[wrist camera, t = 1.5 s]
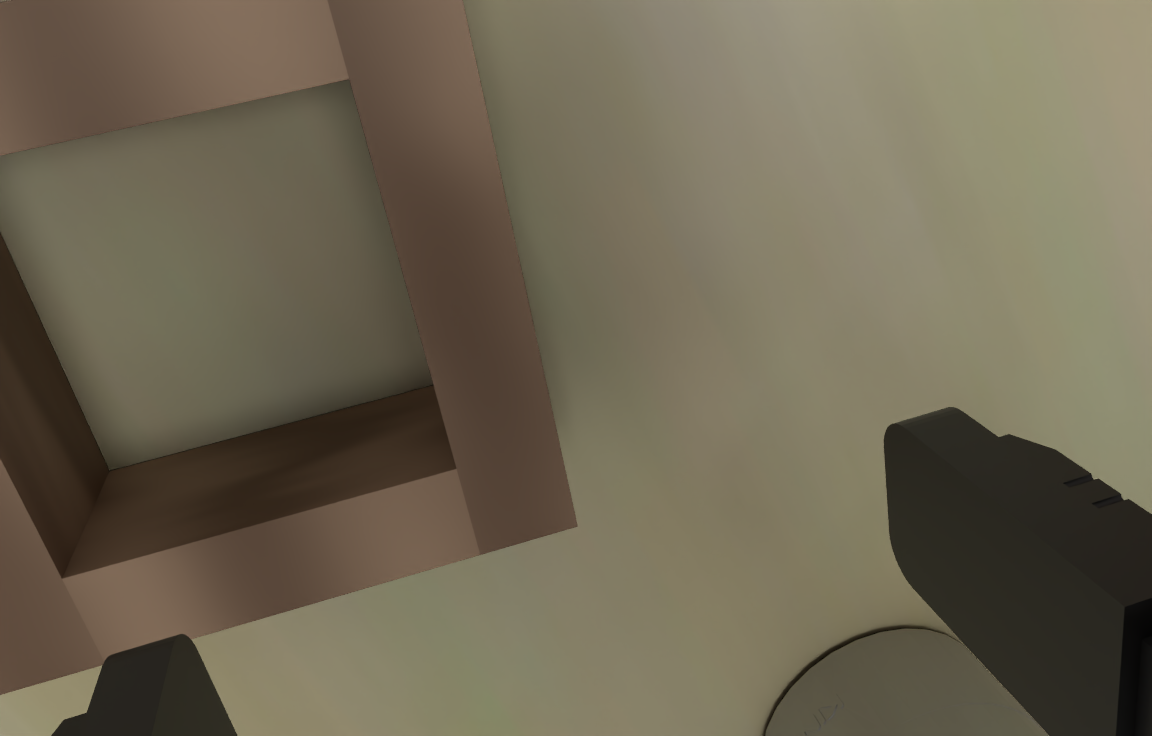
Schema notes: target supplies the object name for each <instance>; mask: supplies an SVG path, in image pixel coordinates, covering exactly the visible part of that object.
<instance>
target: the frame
mask: <svg viewBox="0 0 1152 736" xmlns="http://www.w3.org/2000/svg"><path fill="white" fill-rule="evenodd" d="M348 79H349V80H350V84H351V87H352V91H353V95H354V98H355V102H356V106H357V109H358V113H359V116H360V120H361V124H362V127H363V131H364V135H365V138H366V142H367V146H368V149H369V153H370V156H371V160H372V164H373V167H374V171H375V175H376V178H377V182H378V185H379V189H380V193H381V196H382V200H383V204H384V207H385V211H386V214H387V218H388V222H389V225H390V229H391V233H392V236H393V240H394V244H395V247H396V251H397V254H398V258H399V262H400V265H401V269H402V273H403V276H404V280H405V283H406V287H407V291H408V294H409V298H410V302H411V305H412V309H413V313H414V316H415V320H416V323H417V327H418V331H419V334H420V338H421V342H422V345H423V349H424V352H425V356H426V360H427V363H428V367H429V371H430V374H431V378H432V381H433V386H429V387H425V388H421V389H417V390H414V391H410V392H406V393H402V394H399V395H395V396H391V397H387V398H384V399H380V400H376V401H372V402H369V403H365V404H361V405H357V406H353V407H350V408H346V409H342V410H338V411H335V412H331V413H327V414H323V415H320V416H316V417H312V418H308V419H304V420H301V421H297V422H293V423H289V424H286V425H282V426H278V427H274V428H271V429H267V430H263V431H259V432H256V433H252V434H248V435H244V436H240V437H237V438H233V439H229V440H225V441H222V442H218V443H214V444H210V445H207V446H203V447H199V448H195V449H192V450H188V451H184V452H180V453H176V454H173V455H169V456H165V457H161V458H158V459H154V460H150V461H146V462H143V463H139V464H135V465H131V466H127V467H124V468H120V469H116V470H112V471H109V470H108V467H107V465H106V463H105V461H104V459H103V456H102V454H101V452H100V450H99V448H98V446H97V443H96V441H95V439H94V437H93V435H92V432H91V430H90V428H89V426H88V424H87V422H86V419H85V417H84V415H83V413H82V411H81V408H80V406H79V404H78V402H77V400H76V398H75V395H74V393H73V391H72V389H71V387H70V384H69V382H68V380H67V378H66V376H65V373H64V371H63V369H62V367H61V365H60V363H59V360H58V358H57V356H56V354H55V352H54V349H53V347H52V345H51V343H50V341H49V339H48V336H47V334H46V332H45V330H44V328H43V325H42V323H41V321H40V319H39V317H38V315H37V312H36V310H35V308H34V306H33V304H32V301H31V299H30V297H29V295H28V293H27V291H26V288H25V286H24V284H23V282H22V280H21V277H20V275H19V273H18V271H17V269H16V267H15V264H14V262H13V260H12V258H11V256H10V253H9V251H8V249H7V247H6V245H5V243H4V240H3V238H2V236H1V234H0V695H1V694H5V693H8V692H12V691H15V690H19V689H22V688H25V687H29V686H32V685H36V684H39V683H43V682H46V681H49V680H53V679H56V678H60V677H63V676H67V675H70V674H73V673H77V672H80V671H84V670H87V669H91V668H94V667H97V666H101V665H103V664H104V661H105V660H106V658H107V657H108V656H110V655H112V654H115V653H118V652H122V651H125V650H128V649H132V648H135V647H138V646H142V645H145V644H149V643H152V642H155V641H159V640H162V639H165V638H169V637H172V636H175V635H179V634H185V635H187V636H188V637H189V638H190V639H193V638H197V637H200V636H204V635H207V634H211V633H214V632H217V631H221V630H224V629H228V628H231V627H235V626H238V625H241V624H245V623H248V622H252V621H255V620H259V619H262V618H265V617H269V616H272V615H276V614H279V613H283V612H286V611H289V610H293V609H296V608H300V607H303V606H307V605H310V604H313V603H317V602H320V601H324V600H327V599H331V598H334V597H337V596H341V595H344V594H348V593H351V592H354V591H358V590H361V589H365V588H368V587H372V586H375V585H378V584H382V583H385V582H389V581H392V580H396V579H399V578H402V577H406V576H409V575H413V574H416V573H420V572H423V571H426V570H430V569H433V568H437V567H440V566H444V565H447V564H450V563H454V562H457V561H461V560H464V559H468V558H471V557H474V556H478V555H481V554H485V553H488V552H492V551H495V550H498V549H502V548H505V547H509V546H512V545H516V544H519V543H522V542H526V541H529V540H533V539H536V538H540V537H543V536H546V535H550V534H553V533H557V532H560V531H564V530H567V529H570V528H574V527H577V521H576V517H575V512H574V508H573V503H572V498H571V494H570V489H569V485H568V480H567V475H566V471H565V466H564V462H563V457H562V453H561V448H560V443H559V439H558V434H557V430H556V425H555V421H554V416H553V411H552V407H551V402H550V398H549V393H548V389H547V384H546V379H545V375H544V370H543V366H542V361H541V357H540V352H539V347H538V343H537V338H536V334H535V329H534V325H533V320H532V315H531V311H530V306H529V302H528V297H527V292H526V288H525V283H524V279H523V274H522V270H521V265H520V260H519V256H518V251H517V247H516V242H515V238H514V233H513V228H512V224H511V219H510V215H509V210H508V206H507V201H506V196H505V192H504V187H503V183H502V178H501V174H500V169H499V164H498V160H497V155H496V151H495V146H494V142H493V137H492V132H491V128H490V123H489V119H488V114H487V109H486V105H485V100H484V96H483V91H482V87H481V82H480V77H479V73H478V68H477V64H476V59H475V55H474V50H473V45H472V41H471V36H470V32H469V27H468V23H467V18H466V13H465V9H464V4H463V0H11V1H6V2H1V3H0V156H1V155H5V154H10V153H14V152H19V151H24V150H28V149H33V148H37V147H42V146H46V145H51V144H56V143H60V142H65V141H69V140H74V139H78V138H83V137H87V136H92V135H97V134H101V133H106V132H110V131H115V130H119V129H124V128H129V127H133V126H138V125H142V124H147V123H151V122H156V121H161V120H165V119H170V118H174V117H179V116H183V115H188V114H192V113H197V112H202V111H206V110H211V109H215V108H220V107H224V106H229V105H234V104H238V103H243V102H247V101H252V100H256V99H261V98H266V97H270V96H275V95H279V94H284V93H288V92H293V91H297V90H302V89H307V88H311V87H316V86H320V85H325V84H329V83H334V82H339V81H343V80H348Z"/></svg>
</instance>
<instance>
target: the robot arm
mask: <svg viewBox="0 0 1152 736" xmlns="http://www.w3.org/2000/svg"><path fill="white" fill-rule="evenodd" d="M884 454H885V470H886V487H887V503H888V519H889V534H890V540H891V545H892V549H893V552H894V555H895V558H896V560H897V563H898V565H899V567H900V569H901V571H902V573H903V575H904V577H905V578H906V580H907V581H908V583H909V584H910V585H911V586H912V588H913V589H914V590H915V591H916V592H917V593H918V594H919V595H920V596H921V597H922V599H923V600H924V601H925V602H926V603H927V604H928V605H929V606H930V607H931V608H932V609H933V610H934V612H935V613H936V614H937V615H938V616H939V617H940V618H941V619H942V620H943V621H944V622H945V623H946V624H947V626H948V627H949V628H950V629H951V630H952V631H953V632H954V633H955V634H956V635H957V636H958V637H959V639H960V640H961V641H962V642H963V643H964V644H965V645H966V646H967V647H968V648H969V649H970V650H971V652H972V653H973V654H974V655H975V656H976V657H977V658H978V659H979V660H980V661H981V662H982V663H983V664H984V666H985V667H986V668H987V669H988V670H989V671H990V672H991V673H992V674H993V675H994V676H995V677H996V679H997V680H998V681H999V682H1000V683H1001V684H1002V685H1003V686H1004V687H1005V688H1006V689H1007V690H1008V691H1007V690H1006V689H1005V688H1004V687H1003V686H1002V685H1000V684H999V683H998V681H997V680H996V679H995V678H994V677H993V676H992V675H991V674H990V673H989V672H988V671H987V670H986V669H985V668H984V667H983V665H982V664H981V663H980V662H979V661H978V660H977V659H976V658H975V657H974V656H973V655H972V654H971V653H970V651H969V650H968V649H967V648H966V647H965V646H964V645H963V644H961V643H960V642H958V641H956V640H954V639H953V638H951V637H949V636H948V635H945V634H941V633H938V632H934V631H931V630H925V629H898V630H892V631H885V632H879V633H876V634H873V635H870V636H867V637H864V638H861V639H858V640H855V641H854V642H852V643H850V644H848V645H846V646H844V647H842V648H840V649H838V650H836V651H834V652H832V653H831V654H829V655H828V656H827V657H825V658H824V659H823V660H821V661H820V662H818V663H817V664H816V665H814V666H813V667H812V668H810V669H809V670H808V671H807V672H806V673H805V674H804V675H803V676H802V677H801V678H800V679H799V680H798V681H797V682H796V683H795V684H794V685H793V686H792V687H791V688H790V690H789V691H788V692H787V694H786V695H785V697H784V698H783V699H782V701H781V702H780V704H779V705H778V706H777V708H776V710H775V712H774V714H773V716H772V719H771V721H770V723H769V725H768V727H767V730H766V734H765V736H1152V514H1150V513H1149V512H1147V511H1146V510H1144V509H1143V508H1141V507H1140V506H1138V505H1137V504H1135V503H1134V502H1132V501H1131V500H1129V499H1127V500H1123V499H1122V497H1121V494H1120V493H1119V492H1118V491H1116V490H1115V489H1113V488H1112V487H1110V486H1109V485H1107V484H1106V483H1104V482H1103V481H1101V480H1100V479H1096V480H1094V479H1093V478H1092V475H1091V473H1089V472H1088V471H1086V470H1085V469H1083V468H1082V467H1080V466H1079V465H1077V464H1076V463H1075V462H1073V461H1072V460H1070V459H1069V458H1067V457H1066V456H1064V455H1063V454H1061V453H1060V452H1058V451H1057V450H1055V449H1052V448H1049V447H1046V446H1043V445H1040V444H1037V443H1034V442H1031V441H1028V440H1025V439H1022V438H1019V437H1016V436H1013V435H1010V434H1008V435H1005V436H1002V437H998V436H996V435H995V434H993V433H992V432H991V431H989V430H988V429H986V428H985V427H984V426H982V425H981V424H979V423H978V422H977V421H975V420H974V419H972V418H971V417H970V416H968V415H967V414H965V413H964V412H963V411H961V410H959V409H957V408H954V407H948V408H944V409H941V410H938V411H934V412H931V413H928V414H924V415H921V416H918V417H914V418H911V419H907V420H904V421H901V422H897V423H894V424H891V425H890V426H889V427H888V428H887V430H886V432H885V436H884ZM1013 697H1014V698H1015V699H1016V700H1017V701H1018V702H1019V703H1020V704H1021V705H1020V704H1019V703H1018V702H1017V701H1016V700H1015V699H1014V698H1013ZM1025 710H1026V711H1027V712H1028V713H1029V714H1030V715H1031V716H1032V717H1033V718H1032V717H1031V716H1030V715H1029V714H1028V713H1027V712H1026V711H1025ZM1038 724H1039V725H1040V726H1041V727H1042V728H1043V729H1044V730H1045V731H1044V730H1043V729H1042V728H1041V727H1040V726H1039V725H1038ZM51 736H237V734H236V732H235V729H234V727H233V725H232V723H231V721H230V719H229V717H228V714H227V712H226V710H225V708H224V706H223V704H222V702H221V699H220V697H219V695H218V693H217V691H216V689H215V687H214V685H213V682H212V680H211V678H210V676H209V674H208V672H207V670H206V667H205V665H204V663H203V661H202V659H201V657H200V655H199V652H198V650H197V648H196V647H195V645H194V643H193V642H192V640H191V639H190V638H189V637H188V636H187V635H185V634H179V635H175V636H172V637H169V638H165V639H162V640H159V641H155V642H152V643H149V644H145V645H142V646H138V647H135V648H132V649H128V650H125V651H122V652H118V653H115V654H112V655H110V656H108V657H107V658H106V660H105V661H104V664H103V666H102V669H101V672H100V675H99V678H98V681H97V684H96V687H95V690H94V693H93V696H92V699H91V702H90V705H89V708H88V711H87V713H85V714H81V715H78V716H75V717H72V718H68V719H65V720H63V722H62V723H61V724H60V725H59V727H58V728H57V729H56V730H55V732H54V733H53V734H52V735H51Z"/></svg>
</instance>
